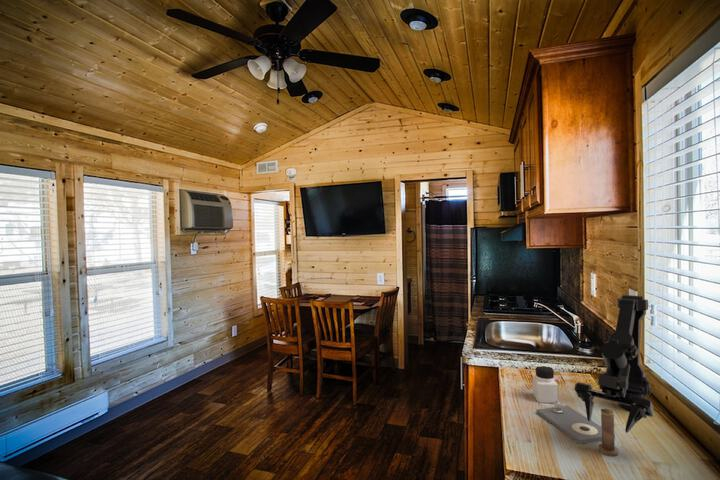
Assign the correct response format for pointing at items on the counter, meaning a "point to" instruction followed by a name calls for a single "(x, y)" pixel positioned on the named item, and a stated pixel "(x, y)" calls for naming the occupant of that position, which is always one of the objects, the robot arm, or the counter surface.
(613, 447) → the walnut peg
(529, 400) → the counter surface
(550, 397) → the medicine bottle
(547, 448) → the counter surface
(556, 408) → the steel pin
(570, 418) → the board
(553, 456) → the counter surface
